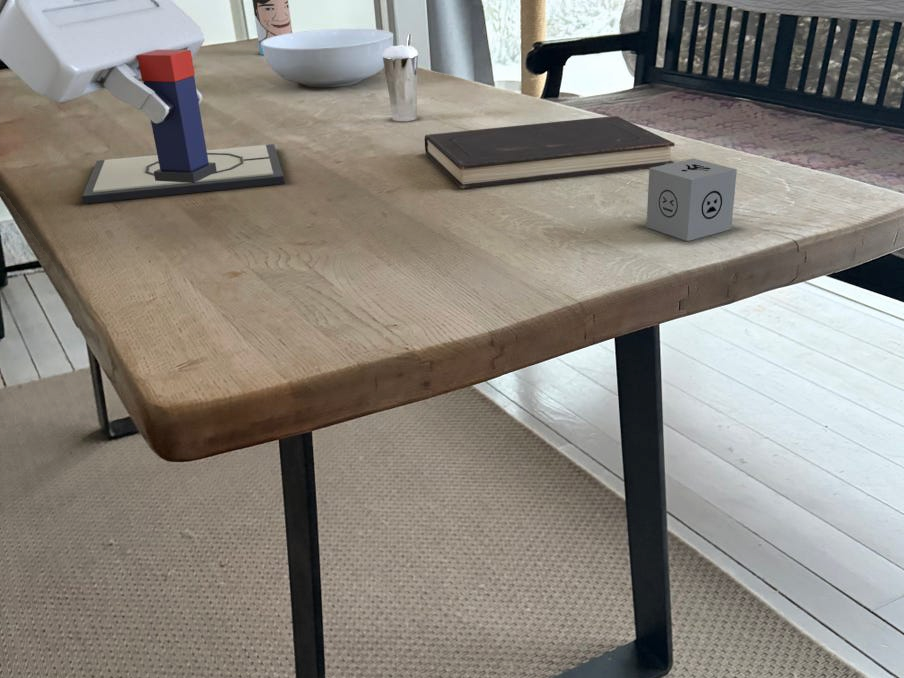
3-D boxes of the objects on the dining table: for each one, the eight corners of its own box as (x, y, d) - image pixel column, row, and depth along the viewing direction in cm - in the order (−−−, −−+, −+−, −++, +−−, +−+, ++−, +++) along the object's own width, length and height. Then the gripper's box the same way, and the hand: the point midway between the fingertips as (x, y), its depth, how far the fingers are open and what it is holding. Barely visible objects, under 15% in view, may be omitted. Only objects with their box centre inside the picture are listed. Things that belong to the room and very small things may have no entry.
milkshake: (430, 115, 128) (425, 34, 123) (412, 123, 123) (406, 40, 118) (400, 113, 129) (394, 34, 124) (381, 121, 125) (374, 39, 120)
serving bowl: (240, 87, 153) (233, 41, 150) (337, 68, 167) (333, 26, 163) (326, 99, 141) (320, 49, 138) (423, 77, 155) (420, 31, 151)
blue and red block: (155, 181, 81) (130, 55, 76) (178, 169, 84) (156, 48, 79) (194, 183, 80) (172, 56, 75) (217, 171, 84) (197, 49, 78)
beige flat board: (83, 204, 95) (81, 193, 95) (98, 167, 109) (96, 157, 108) (284, 183, 99) (283, 173, 99) (275, 150, 113) (273, 141, 112)
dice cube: (731, 229, 80) (736, 169, 78) (687, 241, 78) (691, 179, 76) (689, 215, 84) (693, 158, 81) (646, 227, 82) (649, 168, 79)
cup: (261, 56, 185) (248, -31, 177) (259, 51, 190) (247, -32, 183) (296, 53, 186) (285, -33, 178) (293, 49, 192) (282, -35, 184)
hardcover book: (673, 165, 100) (674, 142, 98) (460, 189, 95) (459, 165, 94) (613, 134, 113) (614, 114, 112) (425, 154, 108) (423, 133, 107)
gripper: (110, 0, 87) (223, 113, 90) (-54, 27, 70) (90, 166, 73) (143, -56, 84) (259, 63, 86) (-22, -41, 67) (128, 107, 70)
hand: (181, 111), depth 80 cm, fingers closed on blue and red block, 3 cm apart
